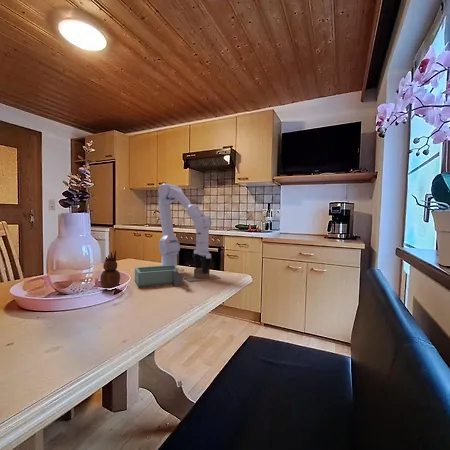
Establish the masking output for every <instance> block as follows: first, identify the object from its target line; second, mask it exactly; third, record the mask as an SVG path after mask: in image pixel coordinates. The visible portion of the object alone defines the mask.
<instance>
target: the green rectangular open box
mask: <svg viewBox="0 0 450 450" xmlns="http://www.w3.org/2000/svg"><path fill="white" fill-rule="evenodd" d="M176 266H178V264H177V265H164V266H161V265H151V266H140V267H134V282H135V283H134V284H135V285H136V287H137V288H138V289H141V288H152V287H160V286H161V287H163V286H168V285H169V286H171V285H173V287H181V286H183V273H178V272H177V271H176V270H175V267H176Z"/></svg>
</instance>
